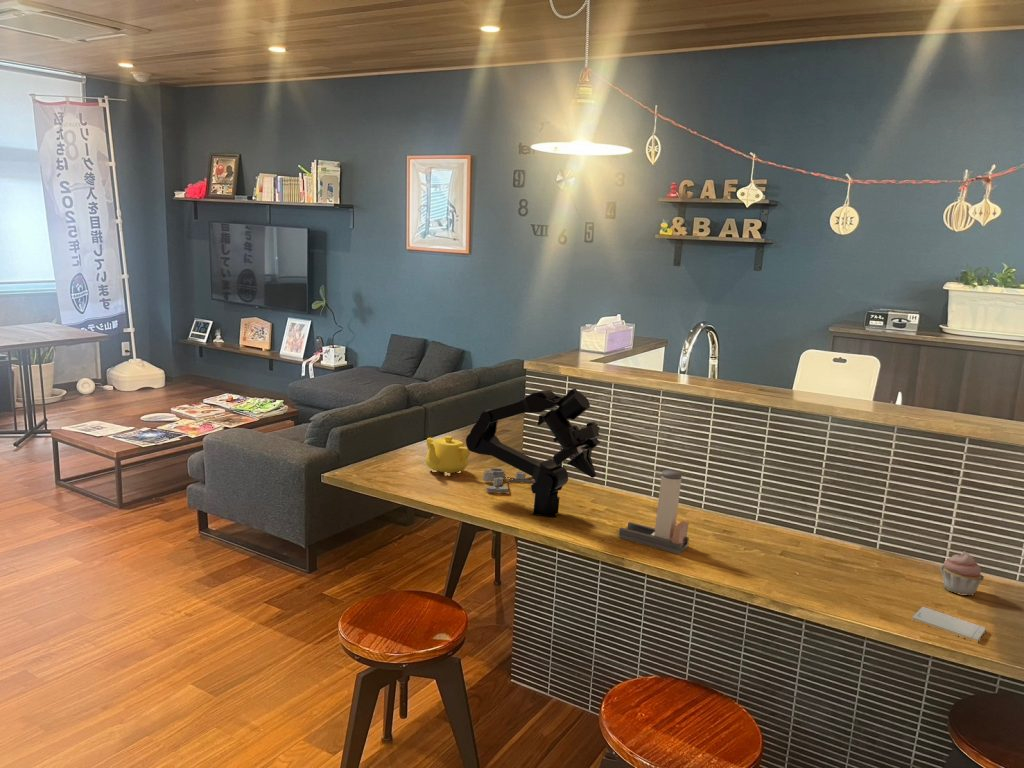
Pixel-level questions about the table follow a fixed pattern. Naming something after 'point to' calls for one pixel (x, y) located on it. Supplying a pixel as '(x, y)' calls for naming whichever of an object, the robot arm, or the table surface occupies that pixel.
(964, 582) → the cupcake
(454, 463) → the teapot
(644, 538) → the rail
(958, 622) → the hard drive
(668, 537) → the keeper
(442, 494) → the table surface
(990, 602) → the table surface
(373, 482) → the table surface
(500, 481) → the pulley system
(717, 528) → the table surface
